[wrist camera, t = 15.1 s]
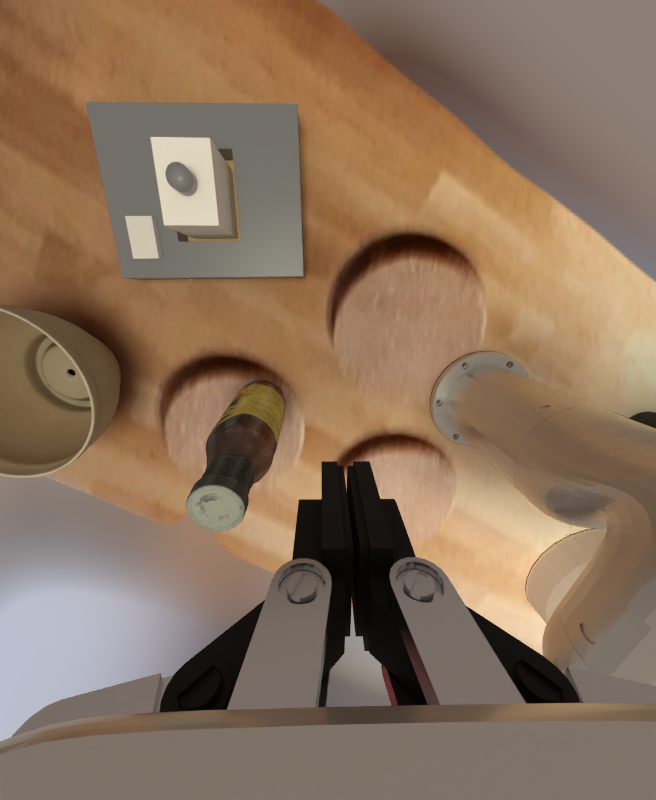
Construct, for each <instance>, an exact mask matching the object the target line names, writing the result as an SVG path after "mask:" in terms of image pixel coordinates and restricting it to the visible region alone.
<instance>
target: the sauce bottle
mask: <svg viewBox="0 0 656 800" xmlns="http://www.w3.org/2000/svg"><path fill="white" fill-rule="evenodd" d="M284 413H285V401H284V398H283V396H282V394H281V392H280V391H279V390H278V388H276V387H275V386H273V385H271V384H269V383H266V382H254V383H251V384H248V385H247V386H245V387H244V388H243V389H242V390H240V391H239V392H238V394H237V395H236V397H235V398H234V400H233V401H232V403H231V404H230V405H229V407H228V408H227V410H226V411H225V413H224V414H223V415H222V417H221V418H220V420H219V422H218V423H217V424H216V426H215V427H214V428H213V430H212V432H211V433H210V435H209V437H208V440H207V443H206V454H207V468H206V471H205V473H204V474H203V476H202V478H201V479H200V480H198V481H197V482H196V483H195V485H194V486H193V488H192V490H191V492H190V494H189V496H188V499H187V502H186V509H187V513H188V514H189V516H190V518H191V519H192V520H193V521H194V522H195V523H196V524H198V525H199V526H200V527H202V528H204V529H206V530H210V531H225V530H229V529H231V528H234V527H236V526H237V525H238V524H239V523H240V522H241V521H242V519H243V518H244V515H245V513H246V510H247V506H248V501H249V500H248V494H249V491H250V488H251V487H252V485H253V484H254V483H256V482H258V481H259V480H260V479H262V477H263V476H264V475H265V474H266V473H267V471H268V470H269V468H270V466H271V464H272V460H273V455H274V454H275V451H276V448H277V444H278V440H279V435H280V431H281V427H282V422H283V418H284Z"/></svg>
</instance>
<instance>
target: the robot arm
mask: <svg viewBox="0 0 656 800" xmlns="http://www.w3.org/2000/svg"><path fill="white" fill-rule="evenodd" d="M463 363H464V365H463V366H462V364H463ZM437 400H438V402H436V401H437ZM430 407H431V414H432V418H433V421H434V423H435V425H436V426H437V428H438V429H439V430H440V431H441V433H443V434H444V435H445V436H446V437H447V438H448V439H450V440H451V441H453V442H455V443H458V444H461V445H467V446H473V447H474V448H475V449H476V450H477V451H478V452H479V453H480V454H481V455H482V456H484V457H485V458H486V459H487V460H488V461H489V462H490V463H491V464H492V465H493V466H494V467H495V468H496V469H497V470H498V471H499V472H500V473H501V474H502V475H503V476H504V477H505V478H506V479H507V480H508V481H509V482H510V483H511V484H512V485H513V486H515V487H516V488H517V489H518V490H519V491H520V492H521V493H522V494H523V495H524V496H525V497H526V498H527V499H528V500H529V501H530V502H531V503H532V504H533V505H534V506H536V507H537V508H538V509H539V510H541V511H542V512H543V513H545V514H547V515H548V516H550V517H552V518H554V519H556V520H559V521H561V522H564V523H567V524H570V525H575V526H579V527H585V528H593V529H604V530H607V531H606V534H605V537H604V539H603V540H602V542H601V543H600V545H599V546H598V548H597V549H596V551H595V552H594V554H593V558H592V559H591V561H590V562H589V563H588V565H587V566H586V567H585V569H584V570H583V572H582V573H581V574H580V576H579V577H578V578H577V580H576V581H575V583H574V584H573V585H572V587H571V588H570V589H569V591H568V592H567V594H566V595H565V596H564V598H563V599H562V600H561V602H560V603H559V605H558V606H557V607H556V609H555V610H554V612H553V614H552V615H551V617H550V619H549V621H548V623H547V625H546V627H545V631H544V635H543V644H542V650H543V656H542V655H541V654H539V653H538V652H536V651H534V650H533V649H531V648H530V647H528V646H527V645H525V644H524V643H522V642H521V641H519V640H518V639H516V638H515V637H513V636H511V635H510V634H508V633H507V632H505V631H504V630H502V629H501V628H499V627H498V626H496V625H495V624H493V623H491V622H490V621H488V620H487V619H485V618H484V617H482V616H481V615H479V614H478V613H476V612H475V611H473V610H472V609H470V608H468V607H467V606H465V604H464V603H463V601H462V599H461V598H460V596H459V595H458V593H457V591H456V590H455V588H454V586H453V585H452V583H451V582H450V580H449V578H448V577H447V576H446V574H445V573H444V572H443V571H442V569H440V568H439V567H438V566H436V565H435V564H434V563H432V562H430V561H428V560H425V559H421V558H417V557H416V556H415V554H414V551H413V548H412V545H411V542H410V540H409V537H408V534H407V531H406V528H405V526H404V523H403V520H402V517H401V515H400V512H399V509H398V506H397V503H396V501H395V500H394V499H380V497H379V493H378V490H377V486H376V483H375V479H374V476H373V472H372V469H371V465H370V462H369V461H363V462H353V466H348V468H347V492H346V484H345V476H344V468H343V466H337V462H322V500H299V505H298V514H297V523H296V532H295V541H294V550H293V559H292V560H291V561H289V562H287V563H285V564H284V565H282V566H281V567H280V568H279V569H278V570H277V571H276V573H275V575H274V577H273V579H272V581H271V584H270V588H269V590H268V593H267V596H266V599H265V600H264V601H263V602H262V603H260V604H259V605H258V606H257V607H255V608H254V609H253V610H252V611H250V612H249V613H248V614H247V615H245V616H244V617H243V618H242V619H240V620H239V621H238V622H237V623H235V624H234V625H233V626H231V627H230V628H229V629H228V630H226V631H225V632H224V633H223V634H221V635H220V636H219V637H218V638H216V639H215V640H214V641H213V642H211V644H209V645H208V646H206V647H205V648H204V649H203V650H201V651H200V652H199V653H198V654H196V655H195V656H194V657H193V658H191V659H190V660H189V661H188V662H186V663H185V664H184V665H183V666H182V667H181V668H180V669H179V670H178V671H177V672H176V673H175V674H174V675H173V676H170V677H166V678H162V677H161V674H156V675H152V676H149V677H145V678H141V679H137V680H133V681H130V682H126V683H122V684H118V685H115V686H111V687H107V688H103V689H100V690H96V691H92V692H89V693H85V694H81V695H77V696H74V697H70V698H66V699H62V700H60V701H57V702H55V703H53V704H50V705H48V706H46V707H44V708H43V709H41V710H40V711H39V712H37V713H36V714H34V715H33V716H32V717H30V718H29V719H28V720H27V721H26V722H25V723H24V724H23V725H22V726H21V727H20V728H19V729H18V730H17V731H16V733H14V734H13V736H12V737H11V738H8V739H6V740H3V741H1V742H0V800H656V428H653V427H650V426H648V425H645V424H642V423H639V422H636V421H634V420H631V419H628V418H626V417H623V416H621V415H618V414H616V413H613V412H611V411H608V410H606V409H603V408H600V407H598V406H595V405H593V404H590V403H588V402H585V401H583V400H580V399H578V398H575V397H573V396H570V395H568V394H565V393H563V392H560V391H558V390H556V389H553V388H551V387H548V386H546V385H543V384H541V383H538V382H536V381H533V380H531V379H529V378H528V376H527V373H526V371H525V370H524V369H523V367H522V366H521V365H520V364H519V363H518V362H517V361H516V360H514V359H512V358H511V357H509V356H507V355H504V354H501V353H496V352H491V351H487V352H477V353H472V354H469V355H467V356H464V357H462V358H460V359H459V360H457V361H455V362H454V363H452V364H451V365H450V366H449V367H448V368H447V369H446V370H445V371H444V372H443V373H442V375H441V376H440V377H439V379H438V381H437V382H436V384H435V386H434V389H433V392H432V395H431V402H430ZM351 599H352V604H353V614H354V624H355V632H356V636H363V641H364V649H365V651H369V652H370V654H372V655H373V656H374V657H375V658H376V659H377V660H378V661H379V662H380V663H381V664H382V665H381V668H382V674H383V678H384V682H385V686H386V689H387V692H388V696H389V699H390V703H391V706H360V707H327V705H328V695H329V686H330V671H331V668H332V667H333V666H334V665H335V663H336V662H337V661H338V660H339V659H340V657H341V656H342V655H343V654H344V645H345V636H350V623H351Z"/></svg>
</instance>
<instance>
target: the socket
mask: <svg viewBox="0 0 656 800" xmlns="http://www.w3.org/2000/svg"><path fill="white" fill-rule="evenodd" d="M86 106H87V111H88V115H89V120H90V125H91V130H92V134H93V139H94V144H95V148H96V153H97V158H98V163H99V167H100V172H101V177H102V182H103V186H104V191H105V196H106V200H107V205H108V210H109V215H110V219H111V224H112V229H113V234H114V238H115V243H116V248H117V252H118V257H119V262H120V267H121V271H122V276H123V278H126V279H139V280H154V279H240V278H304V251H303V222H302V194H301V165H300V136H299V118H298V107H297V104H242V103H117V102H86ZM150 137H190V138H210V139H211V140H212V142H213V143H214V145H215V146H216V148H217V149H218V151H219V152H220V154H221V155H222V157H223V158H224V159H225V161H226V162H227V164H228V165H229V167H230V168H231V170H232V172H233V184H234V195H235V207H236V218H237V230H238V239H193V238H191V237H189V236H187V235H184V234H182V233H180V232H178V231H175V230H173V229H171V228H169V227H167V226H164V222H163V216H162V209H161V203H160V196H159V190H158V184H157V177H156V171H155V164H154V158H153V151H152V145H151V138H150Z"/></svg>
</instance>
